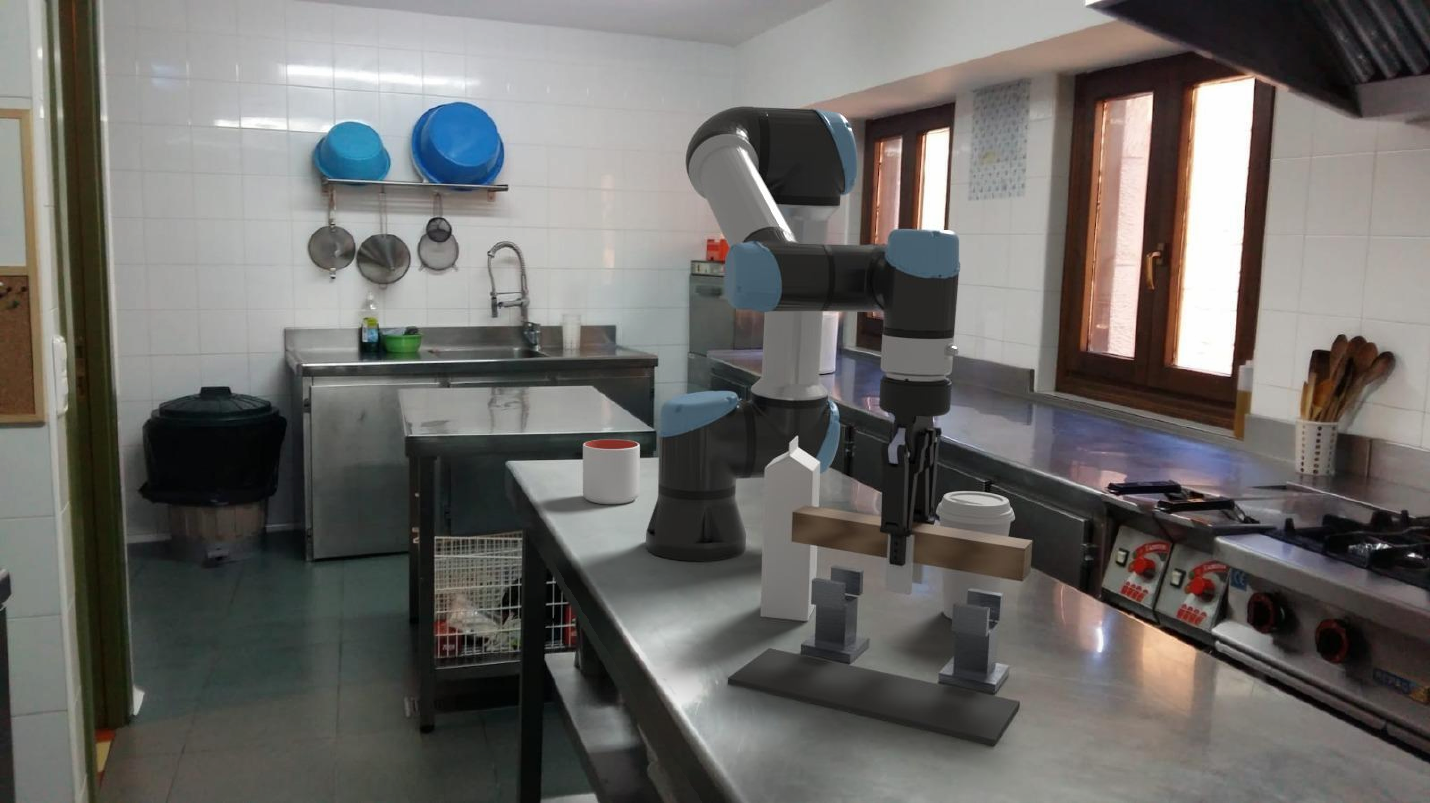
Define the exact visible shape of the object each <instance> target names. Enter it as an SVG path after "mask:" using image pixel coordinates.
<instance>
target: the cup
mask: <svg viewBox="0 0 1430 803" xmlns="http://www.w3.org/2000/svg"><path fill="white" fill-rule="evenodd" d="M640 450H641V446H640V442H639V443H638V442H637V441H633V440H628V439H627V440H626V439H616V438H615V439H614V438H613V439H612V438H611V439H610V438H609V439H605V438H604V439H596V440H595V439H594V440H589V441H586V442H584V443H582V495H583V496H584V499H585V500H587V501H588V502H591V503H594V504H600V505H622V504H623V505H624V504H627V503H631V502H633V501H635V500H636V499H637V498H638V497H639V495H640V470H641V469H640V462H641V459H640V458H641V457H640V455H641V451H640Z"/></svg>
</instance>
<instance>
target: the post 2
mask: <svg viewBox="0 0 1430 803" xmlns="http://www.w3.org/2000/svg"><path fill="white" fill-rule="evenodd" d="M1003 598H1004V593H1001V592H1000V593H997V592H991V591H985V590H979V589H973V588H970V589H969V590H968V595H967V604H963V603H957V602H955V603H954V604H953V615H952V619H951V631H952V632H955V633H954V650H953V656H952V657H951V658H950V660H949V661H948V662H947V663H946V664H945V665H944V666H943V668H942V669H941V670H940V671H939V672H938V683H942V684H946V685H947V684H948V685H950V686H951V685H952V686H957V687H960V688H961V687H962V688H965V689H966V688H967V689H970V690H971V689H972V690H975V691H981V692H983V693H984V692H986V693H990V694H994V695H996V693H997V692H998V690H999V689H1000V688H1001V686H1002V684H1003V683H1004V682H1005V680H1006V679H1007V678H1008V676H1010V665H1008V664H1003V663H998V662H997V648H998V647H997V646H998V634H999V632H998V630H999V622H1000V621H1001V620H1002V617H1003V602H1004V600H1003ZM989 619H990V620H993V621H989ZM997 621H998V622H997Z"/></svg>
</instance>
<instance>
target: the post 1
mask: <svg viewBox="0 0 1430 803" xmlns="http://www.w3.org/2000/svg"><path fill="white" fill-rule="evenodd" d="M863 586H864V569H859V568H852V567H847V566H842V565H841V566H840V565H835V564H834V565H832V566H831V567H830V579H825V578H820V577H816V578H814V579H812V590H811V604H813V605H815V624H814V625H815V626H814V627H815V628H814V629H815V630H814V634H812V635H811V636H810V637H808V638H807V639H805V640H804V641H803V642H802V643H800V653H801V654H805V655H810V656H813V657H819V658H824V659H830V660H833V661H838V662H844V663H848V664H851V663H852V662H853V661H855V659H857V658H858V657H859V656H860V655H861V654H862V653H864V651H866V650H867V649H868V648H869V647H870V644H871V643H870V639H871V638H870V637H867V636H862V635H857V631H858V630H857V628H858V627H857V626H858V624H857V623H858V603H859V602H858V600H859V597H860V596H861V595H863V594H864V593H863V592H864V590H863V589H864V587H863ZM858 596H859V597H858Z"/></svg>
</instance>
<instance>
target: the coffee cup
mask: <svg viewBox="0 0 1430 803" xmlns="http://www.w3.org/2000/svg"><path fill="white" fill-rule="evenodd" d="M935 514H936V515H937V516H938V517H939V526H943V527H949V528H956V529H962V530H969V531H975V532H981V533H988V534H994V535H1001V536H1007V537H1009V535H1010V534H1009V533H1010V529H1011V528H1010V527H1011V523H1012V522H1013V521H1014V520H1016V516H1015V512H1014V510H1013V507H1011V504H1010V500H1009V499H1008V498H1007V497H1005V496H1003V495H999V494H997V493H996V494H995V493H991V492H984V491H971V490H969V491H967V490H961V491H959V490H958V491H952V492H947V493H945V494H944V495H943V497H942V499H941V502H939V503H938V505H937V507H936V511H935ZM1002 580H1003V578H999V577H993V576H987V575H981V574H976V573H970V572H964V571H958V570H952V569H947V568H941V584H942V586H941V587H942V588H941V589H942V612H943V615H944V616H945V617H946V618H949V619H951V620H952V615H953V604H954V603H955V602H957V603H963V604H967V595H968V590H969V589H970V588H973V589H979V590H985V591H991V592H997V593H1001V587H1002V586H1001V585H1002ZM989 621H992V622H994V620H990V619H989Z"/></svg>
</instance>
